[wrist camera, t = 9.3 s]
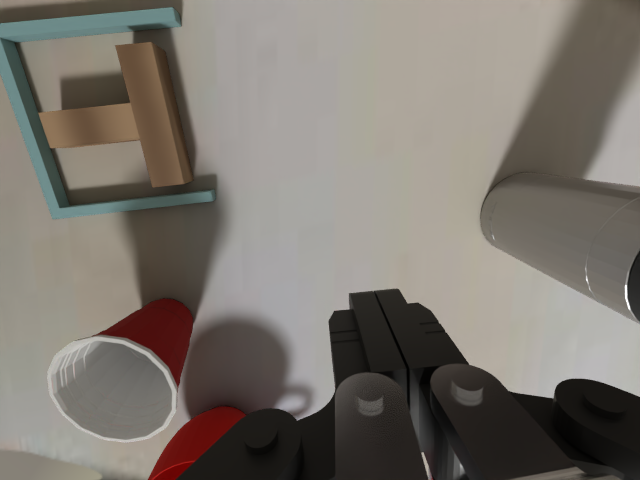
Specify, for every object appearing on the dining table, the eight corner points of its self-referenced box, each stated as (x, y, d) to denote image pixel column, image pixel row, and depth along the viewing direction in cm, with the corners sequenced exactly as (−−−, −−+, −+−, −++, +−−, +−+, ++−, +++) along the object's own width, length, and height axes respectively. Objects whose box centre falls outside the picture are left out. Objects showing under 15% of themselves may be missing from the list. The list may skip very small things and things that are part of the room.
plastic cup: (108, 280, 36) (20, 344, 25) (206, 274, 37) (164, 334, 25) (129, 362, 39) (60, 452, 28) (219, 355, 40) (187, 441, 28)
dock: (179, 13, 29) (172, 7, 28) (216, 198, 34) (212, 201, 33) (-2, 30, 29) (-18, 25, 27) (63, 216, 34) (52, 219, 32)
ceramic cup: (282, 477, 46) (278, 564, 37) (164, 450, 44) (127, 536, 34) (315, 408, 43) (320, 484, 34) (190, 374, 40) (157, 446, 31)
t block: (165, 51, 30) (151, 41, 27) (193, 180, 34) (184, 183, 31) (45, 63, 30) (18, 55, 27) (86, 192, 33) (67, 197, 30)
